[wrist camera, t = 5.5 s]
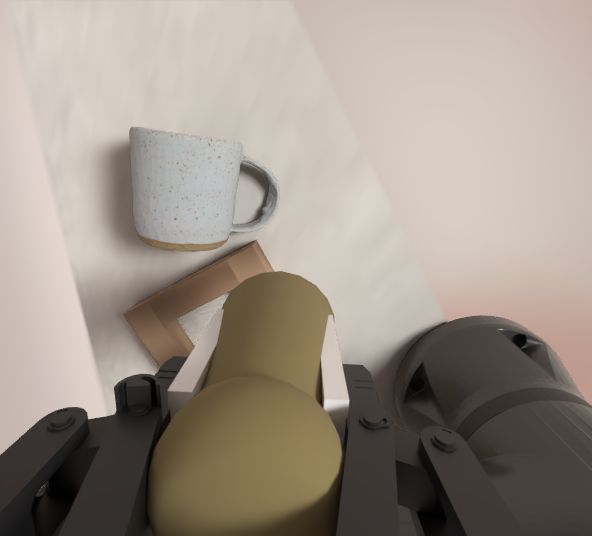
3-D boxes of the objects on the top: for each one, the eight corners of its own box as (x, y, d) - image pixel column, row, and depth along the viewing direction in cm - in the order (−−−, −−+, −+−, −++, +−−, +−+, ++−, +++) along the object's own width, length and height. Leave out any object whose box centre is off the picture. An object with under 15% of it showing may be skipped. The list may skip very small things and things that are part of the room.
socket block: (322, 357, 34) (324, 371, 31) (209, 409, 35) (202, 426, 33) (256, 240, 31) (252, 245, 28) (136, 303, 33) (123, 314, 30)
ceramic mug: (155, 229, 31) (110, 248, 23) (156, 131, 28) (107, 117, 21) (275, 243, 31) (268, 266, 24) (285, 147, 29) (281, 139, 21)
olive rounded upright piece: (345, 365, 19) (398, 620, 8) (237, 386, 19) (154, 652, 9) (321, 259, 17) (349, 402, 7) (205, 285, 18) (55, 456, 7)
